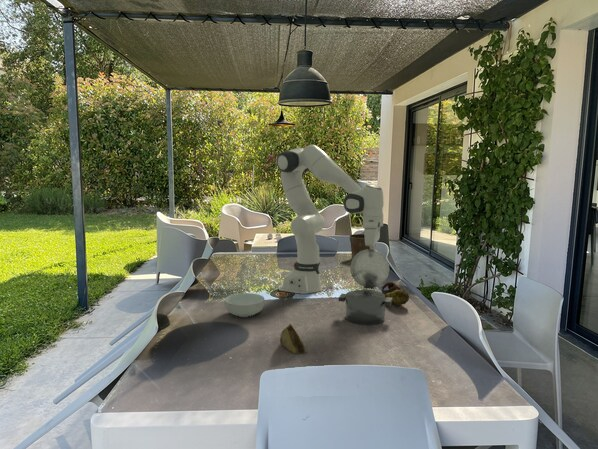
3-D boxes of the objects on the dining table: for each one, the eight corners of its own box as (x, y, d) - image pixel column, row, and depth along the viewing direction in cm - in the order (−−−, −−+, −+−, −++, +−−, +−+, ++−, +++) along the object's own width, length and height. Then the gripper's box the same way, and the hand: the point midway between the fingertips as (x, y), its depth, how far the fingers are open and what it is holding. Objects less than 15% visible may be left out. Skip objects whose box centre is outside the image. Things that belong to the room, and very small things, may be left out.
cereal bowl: (232, 323, 180) (231, 306, 179) (219, 311, 194) (219, 296, 194) (270, 316, 188) (270, 300, 187) (256, 306, 202) (255, 290, 201)
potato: (399, 300, 209) (400, 284, 208) (411, 309, 196) (412, 291, 195) (383, 301, 207) (383, 285, 206) (393, 310, 195) (394, 292, 194)
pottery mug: (405, 300, 211) (398, 287, 208) (387, 308, 213) (380, 294, 210) (401, 287, 222) (394, 274, 219) (384, 295, 224) (377, 282, 221)
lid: (351, 248, 195) (352, 248, 198) (349, 287, 194) (350, 286, 197) (389, 250, 189) (390, 250, 193) (388, 290, 189) (388, 289, 192)
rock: (272, 337, 159) (274, 344, 149) (285, 317, 160) (289, 323, 150) (296, 354, 160) (300, 362, 150) (310, 334, 161) (315, 341, 151)
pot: (335, 321, 181) (335, 298, 180) (344, 308, 197) (344, 287, 196) (388, 327, 174) (389, 303, 173) (393, 313, 191) (393, 291, 190)
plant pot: (374, 262, 292) (375, 237, 290) (350, 262, 292) (350, 237, 290) (371, 257, 308) (371, 234, 306) (347, 257, 309) (348, 234, 306)
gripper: (369, 219, 208) (369, 248, 210) (362, 224, 189) (361, 256, 190) (383, 219, 206) (382, 248, 208) (377, 225, 187) (376, 257, 189)
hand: (372, 252), depth 199 cm, fingers closed
